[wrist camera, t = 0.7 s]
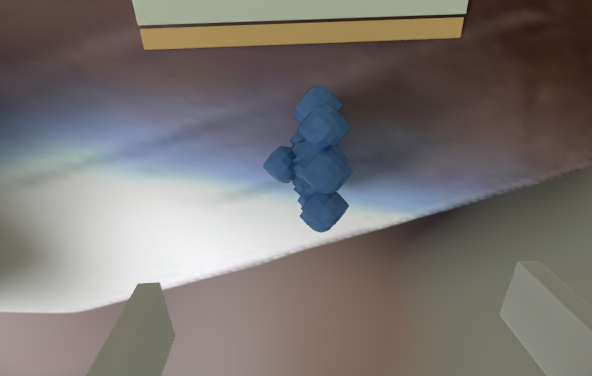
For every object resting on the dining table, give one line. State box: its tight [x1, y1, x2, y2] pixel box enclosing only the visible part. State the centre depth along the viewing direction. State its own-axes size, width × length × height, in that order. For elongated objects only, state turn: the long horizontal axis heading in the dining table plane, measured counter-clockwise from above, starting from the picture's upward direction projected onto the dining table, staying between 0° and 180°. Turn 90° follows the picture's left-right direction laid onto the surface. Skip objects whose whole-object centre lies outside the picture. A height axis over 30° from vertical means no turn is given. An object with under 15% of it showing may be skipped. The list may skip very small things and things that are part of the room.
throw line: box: [140, 17, 464, 50], centre depth 26 cm, size 26×2×1 cm, turn 92°
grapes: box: [263, 85, 353, 232], centre depth 24 cm, size 12×7×12 cm, turn 2°
